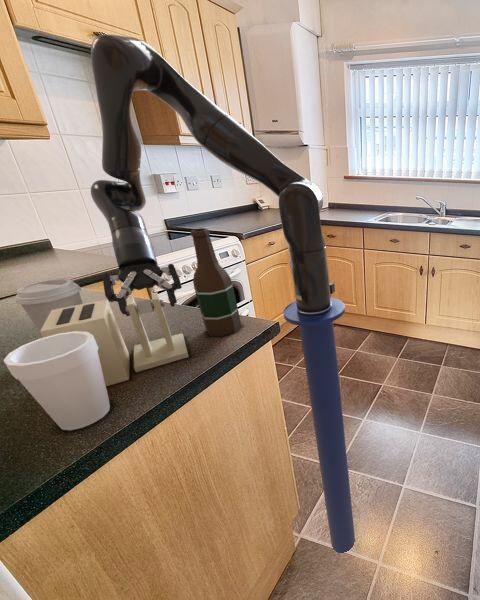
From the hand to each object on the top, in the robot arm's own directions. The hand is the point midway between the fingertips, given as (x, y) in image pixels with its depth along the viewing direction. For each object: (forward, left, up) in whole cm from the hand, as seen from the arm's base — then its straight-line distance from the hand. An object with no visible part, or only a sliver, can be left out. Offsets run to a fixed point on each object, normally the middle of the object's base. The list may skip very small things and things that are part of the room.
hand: (151, 309), depth 77 cm
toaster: (+16, +4, -6) cm, 18 cm away
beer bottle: (-4, +15, -6) cm, 16 cm away
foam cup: (+26, +12, -6) cm, 29 cm away
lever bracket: (+8, +9, -6) cm, 13 cm away
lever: (+5, +5, +2) cm, 7 cm away
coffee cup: (+10, -11, -6) cm, 16 cm away
